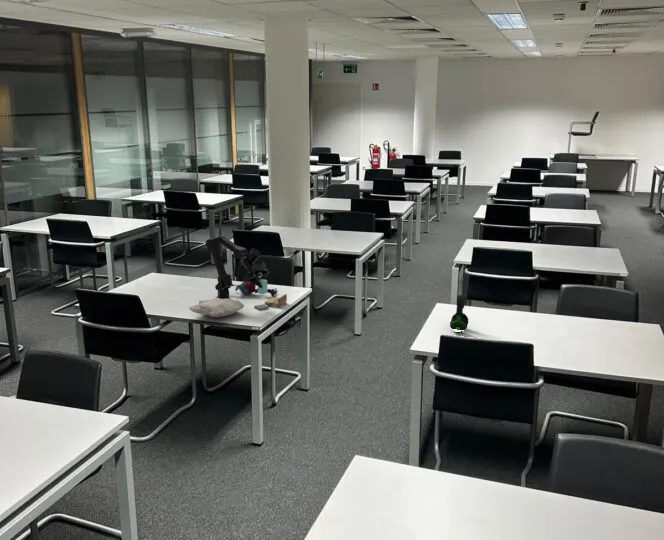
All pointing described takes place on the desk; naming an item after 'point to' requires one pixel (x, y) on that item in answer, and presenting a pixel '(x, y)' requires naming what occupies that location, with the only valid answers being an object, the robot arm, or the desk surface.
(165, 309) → the desk surface
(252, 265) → the robot arm
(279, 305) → the tan piece
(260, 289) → the teal block
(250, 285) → the toy
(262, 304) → the gray block
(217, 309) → the decorative stone
